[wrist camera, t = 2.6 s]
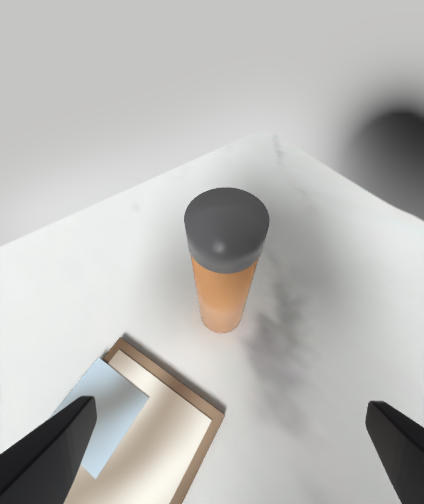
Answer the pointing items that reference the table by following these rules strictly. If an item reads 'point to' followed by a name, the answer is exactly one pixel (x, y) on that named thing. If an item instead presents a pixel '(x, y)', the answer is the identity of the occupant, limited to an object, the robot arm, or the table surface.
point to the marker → (224, 251)
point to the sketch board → (140, 432)
